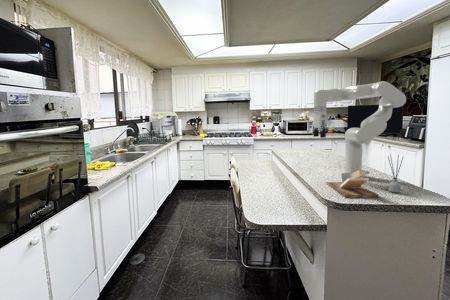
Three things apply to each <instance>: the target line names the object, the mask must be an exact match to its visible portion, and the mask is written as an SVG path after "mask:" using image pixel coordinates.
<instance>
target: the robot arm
mask: <svg viewBox="0 0 450 300" xmlns="http://www.w3.org/2000/svg"><path fill="white" fill-rule="evenodd" d="M378 97H380V99H379V102H378V109H377V110H376V111H375V112H374V113H372V114H371V115H370V116H368V117H366V118H365V119H363V120H362V121H361V123H360V127H350V128H348V129H347V130H346V131H345V133H344V141H345V150H344V151H345V154H344V156H345V157H344V172H343V173H354V172H356V171H358V170H362V161H363V145H364V144H366V143H367V144H368V143H369V142H370V141H372V140H373V139H375V138H376V137H378V136H380V135H381V134H383V133H384V131H385V130H386V129H387V125H388V124H387V122H388V121H389V120H390V119H391V117H392V114H393V109H395V108H400V107H403V106H404V105H405V104H406V102H407V95H405V94H404V92H403V91H401V90H400V89H399V88H397V87H395V86H394V85H393V84H391V83H390V82H388V81H385V80H382V81H378V82H374V83H367V84H357V85H352V86H348V87H345V88H340V89H338V88H330V89H316V90H314V91H313V123H312V128H313V130H312V131H313V138H315V137H317V138H318V137H320V138H323V139H324V138H326V136H327V133H326V132H327V129H328V115H327V104H328V103H334V102H343V101H355V100H362V99H371V98H378ZM319 129H320V133H319ZM365 172H366V175H369V174H370V171H369V170H365Z"/></svg>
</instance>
